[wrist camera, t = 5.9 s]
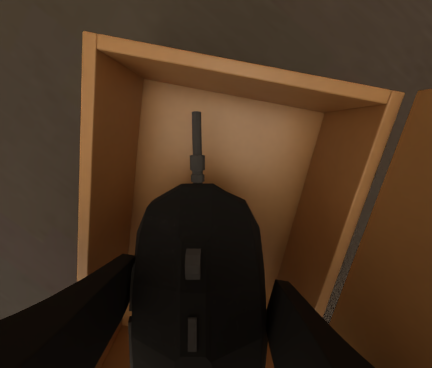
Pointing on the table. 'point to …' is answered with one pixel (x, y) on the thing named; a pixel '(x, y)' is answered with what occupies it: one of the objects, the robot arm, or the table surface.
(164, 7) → the table surface
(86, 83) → the carton
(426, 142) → the flap
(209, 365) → the gaming mouse
